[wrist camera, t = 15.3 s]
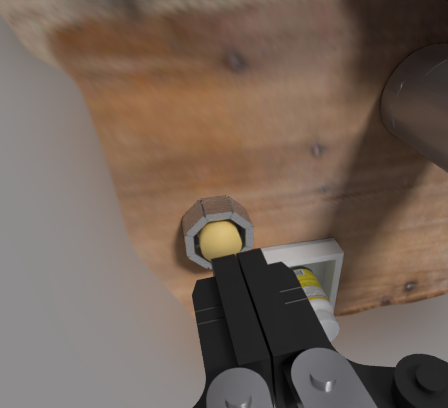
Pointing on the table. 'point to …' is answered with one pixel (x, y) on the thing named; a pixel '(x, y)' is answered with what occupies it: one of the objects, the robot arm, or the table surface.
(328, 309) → the supplement bottle
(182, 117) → the table surface
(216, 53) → the table surface
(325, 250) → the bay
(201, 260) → the socket
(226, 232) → the yellow rounded lump
